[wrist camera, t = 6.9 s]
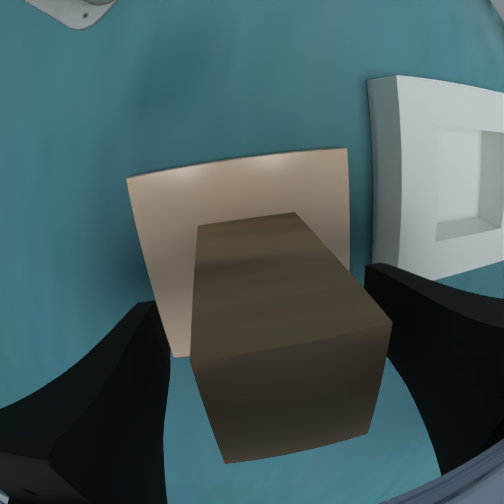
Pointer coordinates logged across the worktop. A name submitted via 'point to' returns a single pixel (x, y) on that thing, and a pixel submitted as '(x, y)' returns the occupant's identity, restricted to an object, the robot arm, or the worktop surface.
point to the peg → (281, 339)
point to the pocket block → (436, 175)
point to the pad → (231, 215)
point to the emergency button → (75, 11)
